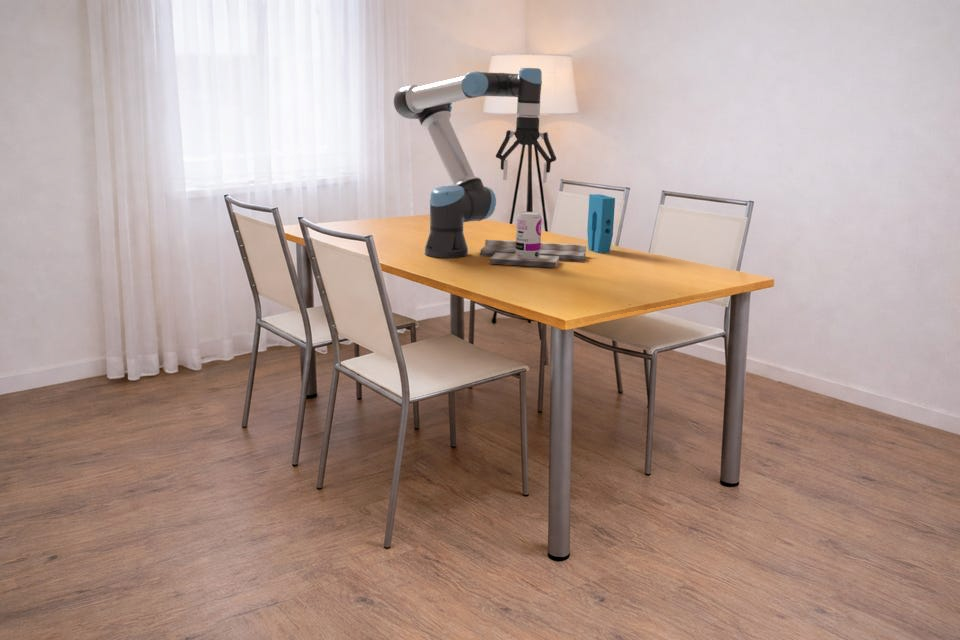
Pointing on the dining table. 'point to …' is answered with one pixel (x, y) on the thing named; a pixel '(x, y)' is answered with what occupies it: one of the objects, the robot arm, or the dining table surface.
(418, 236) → the dining table surface
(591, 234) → the block
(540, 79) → the robot arm
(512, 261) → the plank
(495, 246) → the floorboard
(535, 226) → the supplement can
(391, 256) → the dining table surface
